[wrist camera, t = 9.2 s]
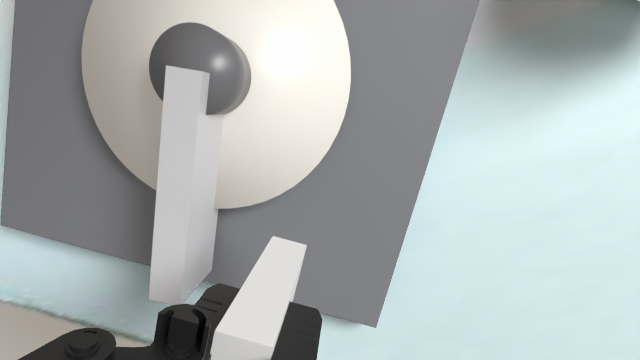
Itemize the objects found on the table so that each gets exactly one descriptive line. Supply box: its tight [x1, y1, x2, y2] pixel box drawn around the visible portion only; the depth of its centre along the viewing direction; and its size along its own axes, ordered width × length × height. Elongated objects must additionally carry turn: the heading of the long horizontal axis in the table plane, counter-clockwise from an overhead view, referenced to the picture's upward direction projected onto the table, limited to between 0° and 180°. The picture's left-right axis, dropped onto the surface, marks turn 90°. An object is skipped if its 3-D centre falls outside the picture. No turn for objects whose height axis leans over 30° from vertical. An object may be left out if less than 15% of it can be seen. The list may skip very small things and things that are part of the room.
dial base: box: [0, 0, 479, 328], centre depth 20 cm, size 24×24×2 cm
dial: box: [81, 0, 351, 305], centre depth 18 cm, size 18×14×4 cm
